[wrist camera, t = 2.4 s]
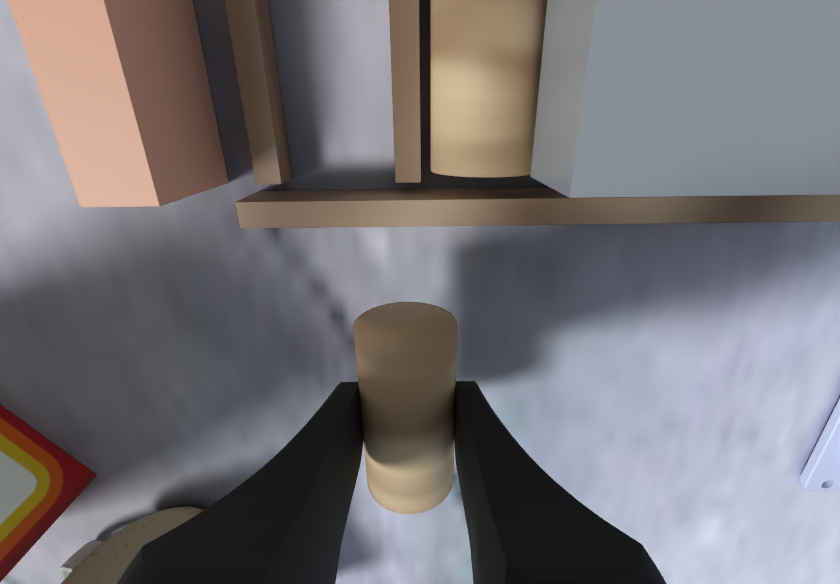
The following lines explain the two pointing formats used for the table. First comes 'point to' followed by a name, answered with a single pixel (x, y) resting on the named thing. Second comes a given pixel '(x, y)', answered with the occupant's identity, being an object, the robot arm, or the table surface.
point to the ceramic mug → (121, 548)
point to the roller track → (456, 133)
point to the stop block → (125, 97)
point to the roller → (407, 403)
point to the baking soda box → (32, 487)
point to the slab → (689, 98)
